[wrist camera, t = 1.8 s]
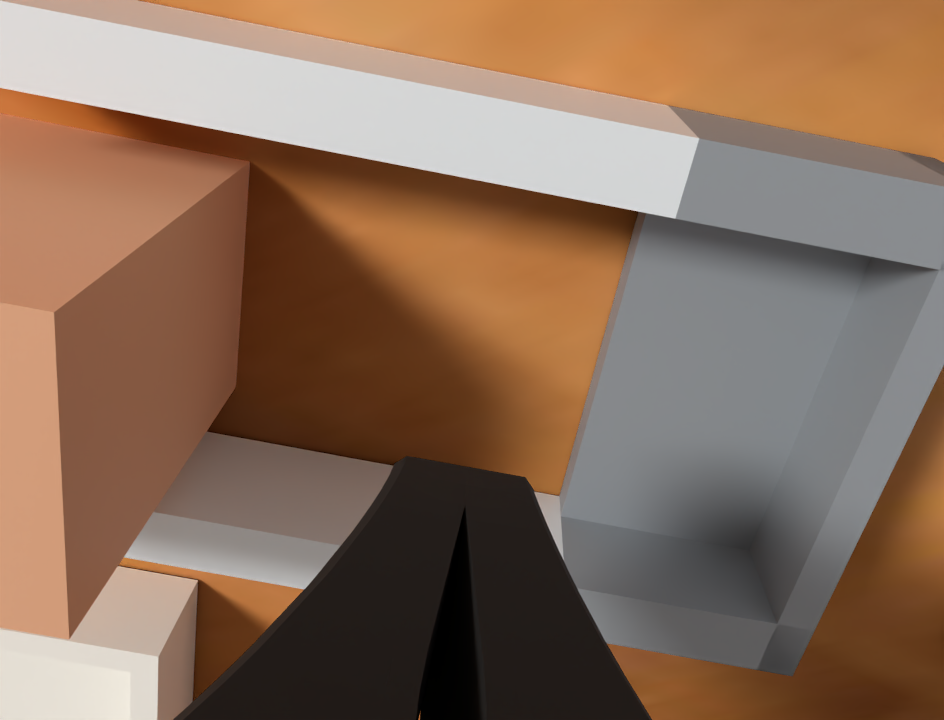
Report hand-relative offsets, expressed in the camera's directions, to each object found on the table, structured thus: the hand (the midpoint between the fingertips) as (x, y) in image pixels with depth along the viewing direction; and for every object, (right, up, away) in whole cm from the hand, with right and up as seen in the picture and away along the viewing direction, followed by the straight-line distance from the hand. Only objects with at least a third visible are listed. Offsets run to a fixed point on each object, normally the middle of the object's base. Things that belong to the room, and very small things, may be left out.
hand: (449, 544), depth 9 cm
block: (-5, +4, +5) cm, 8 cm away
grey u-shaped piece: (+4, +2, +5) cm, 7 cm away
